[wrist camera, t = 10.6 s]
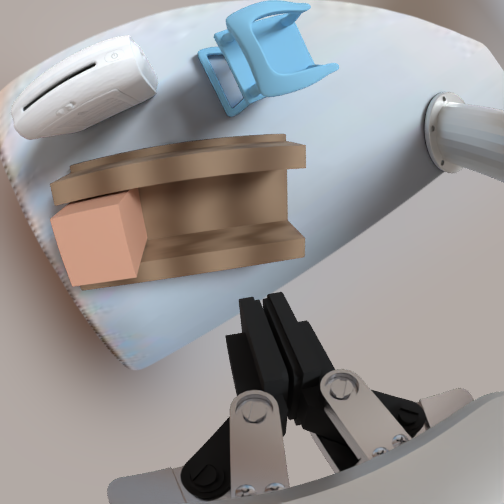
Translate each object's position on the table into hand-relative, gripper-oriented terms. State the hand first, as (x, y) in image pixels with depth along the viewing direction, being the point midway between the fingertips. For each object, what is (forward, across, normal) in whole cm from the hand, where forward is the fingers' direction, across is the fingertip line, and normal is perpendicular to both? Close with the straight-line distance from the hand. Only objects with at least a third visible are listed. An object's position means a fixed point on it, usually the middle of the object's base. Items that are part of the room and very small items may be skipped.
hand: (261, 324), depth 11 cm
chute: (+20, +4, 0) cm, 20 cm away
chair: (+20, -4, -13) cm, 24 cm away
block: (+19, +11, 0) cm, 22 cm away
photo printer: (+20, +10, -12) cm, 25 cm away
